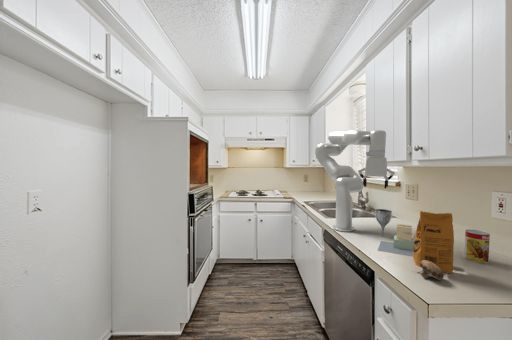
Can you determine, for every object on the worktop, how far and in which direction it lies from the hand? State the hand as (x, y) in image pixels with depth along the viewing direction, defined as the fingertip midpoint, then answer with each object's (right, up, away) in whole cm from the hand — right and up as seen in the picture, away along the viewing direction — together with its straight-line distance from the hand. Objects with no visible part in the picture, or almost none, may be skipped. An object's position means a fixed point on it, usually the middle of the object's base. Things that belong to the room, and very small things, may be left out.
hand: (375, 187), depth 136 cm
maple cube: (+8, -23, -13) cm, 28 cm away
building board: (+3, -28, -15) cm, 32 cm away
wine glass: (+6, -28, +5) cm, 29 cm away
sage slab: (+8, -27, -12) cm, 31 cm away
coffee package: (+6, -29, -34) cm, 46 cm away
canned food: (+32, -29, -25) cm, 50 cm away
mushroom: (0, -30, -43) cm, 52 cm away
